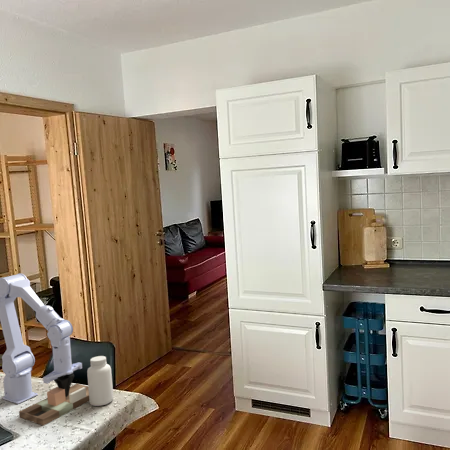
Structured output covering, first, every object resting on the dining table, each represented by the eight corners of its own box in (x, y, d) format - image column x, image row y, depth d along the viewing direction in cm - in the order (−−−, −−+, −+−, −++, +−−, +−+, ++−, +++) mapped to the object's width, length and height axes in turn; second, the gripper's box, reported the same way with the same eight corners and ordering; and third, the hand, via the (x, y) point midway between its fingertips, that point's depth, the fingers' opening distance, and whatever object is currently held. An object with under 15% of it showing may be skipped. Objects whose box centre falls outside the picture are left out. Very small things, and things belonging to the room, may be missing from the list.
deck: (19, 417, 144) (19, 411, 144) (77, 388, 164) (77, 383, 164) (43, 425, 137) (42, 419, 137) (100, 395, 158) (100, 389, 157)
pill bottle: (112, 404, 149) (108, 360, 148) (87, 407, 148) (83, 363, 147) (115, 395, 156) (111, 353, 156) (92, 398, 156) (88, 356, 155)
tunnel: (49, 397, 153) (49, 388, 153) (64, 390, 158) (63, 381, 158) (72, 403, 147) (71, 394, 147) (86, 396, 152) (85, 387, 152)
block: (47, 403, 148) (46, 392, 148) (57, 398, 152) (56, 387, 151) (55, 406, 146) (54, 394, 146) (65, 400, 149) (64, 389, 149)
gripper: (51, 366, 143) (55, 407, 143) (87, 351, 155) (89, 389, 156) (37, 363, 146) (41, 403, 147) (73, 349, 159) (76, 386, 160)
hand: (65, 396), depth 152 cm, fingers closed
